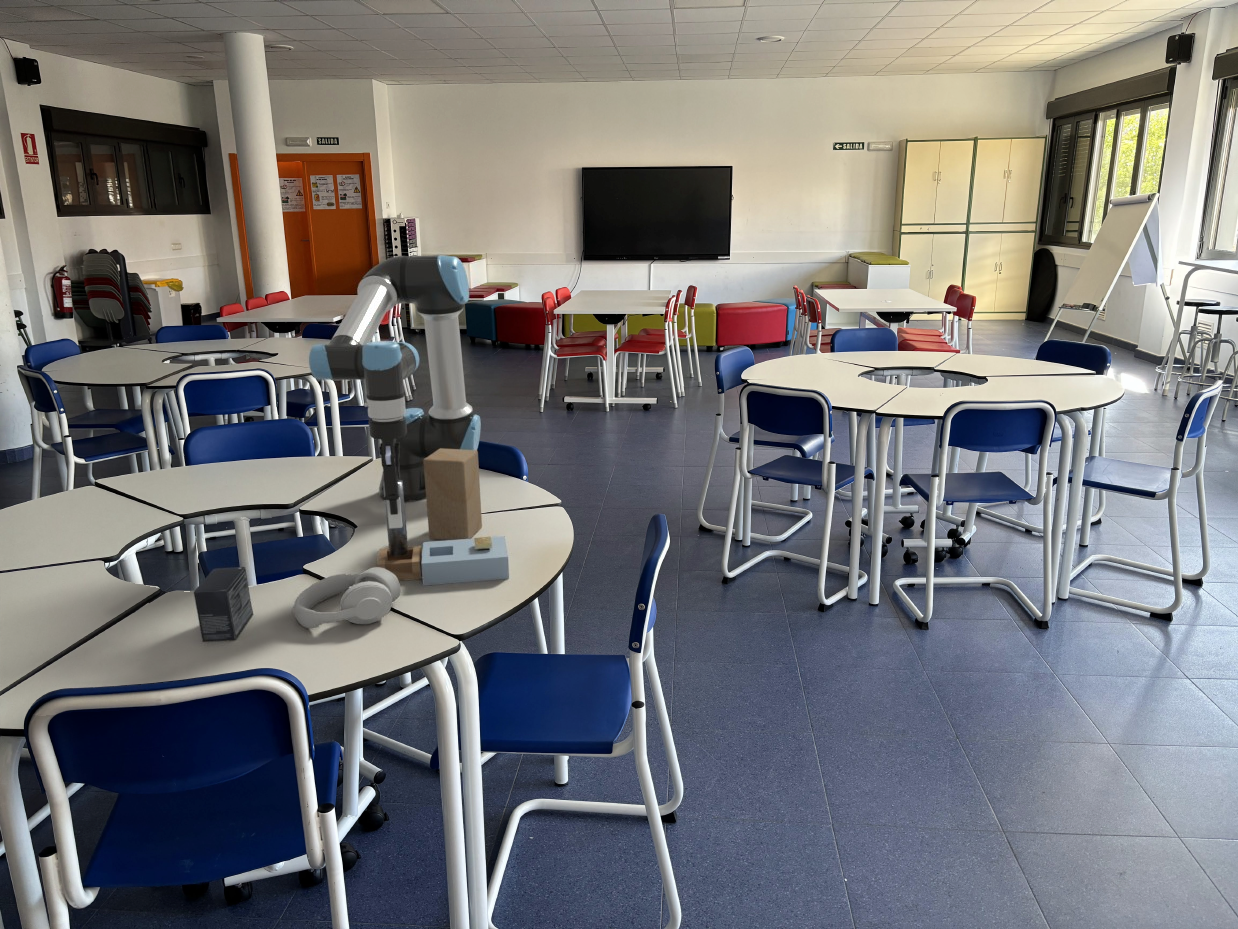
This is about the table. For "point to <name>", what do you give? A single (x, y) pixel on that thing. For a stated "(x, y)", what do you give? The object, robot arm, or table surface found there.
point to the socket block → (463, 561)
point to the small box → (223, 604)
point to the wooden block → (453, 494)
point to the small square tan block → (483, 543)
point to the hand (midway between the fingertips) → (396, 523)
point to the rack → (402, 563)
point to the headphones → (350, 598)
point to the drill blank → (397, 535)
